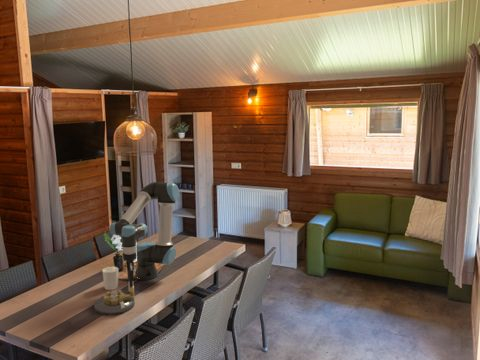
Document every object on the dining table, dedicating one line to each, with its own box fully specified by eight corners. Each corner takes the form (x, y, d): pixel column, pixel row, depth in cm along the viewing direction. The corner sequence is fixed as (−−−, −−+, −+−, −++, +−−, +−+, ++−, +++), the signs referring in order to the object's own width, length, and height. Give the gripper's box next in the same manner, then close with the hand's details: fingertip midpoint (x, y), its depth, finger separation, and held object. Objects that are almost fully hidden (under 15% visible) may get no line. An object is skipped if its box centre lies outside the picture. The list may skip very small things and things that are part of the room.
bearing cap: (112, 295, 250) (111, 284, 249) (142, 301, 242) (141, 290, 241) (86, 311, 230) (85, 299, 229) (117, 318, 222) (117, 306, 221)
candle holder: (102, 291, 255) (101, 273, 253) (103, 285, 265) (102, 267, 263) (119, 289, 258) (118, 271, 256) (119, 283, 267) (118, 265, 265)
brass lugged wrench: (104, 306, 229) (103, 294, 228) (104, 297, 239) (103, 286, 238) (135, 302, 234) (134, 290, 232) (134, 294, 244) (133, 282, 243)
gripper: (121, 249, 239) (123, 287, 244) (124, 257, 228) (126, 296, 232) (134, 248, 242) (136, 285, 247) (137, 255, 231) (139, 294, 235)
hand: (131, 290), depth 239 cm, fingers closed
